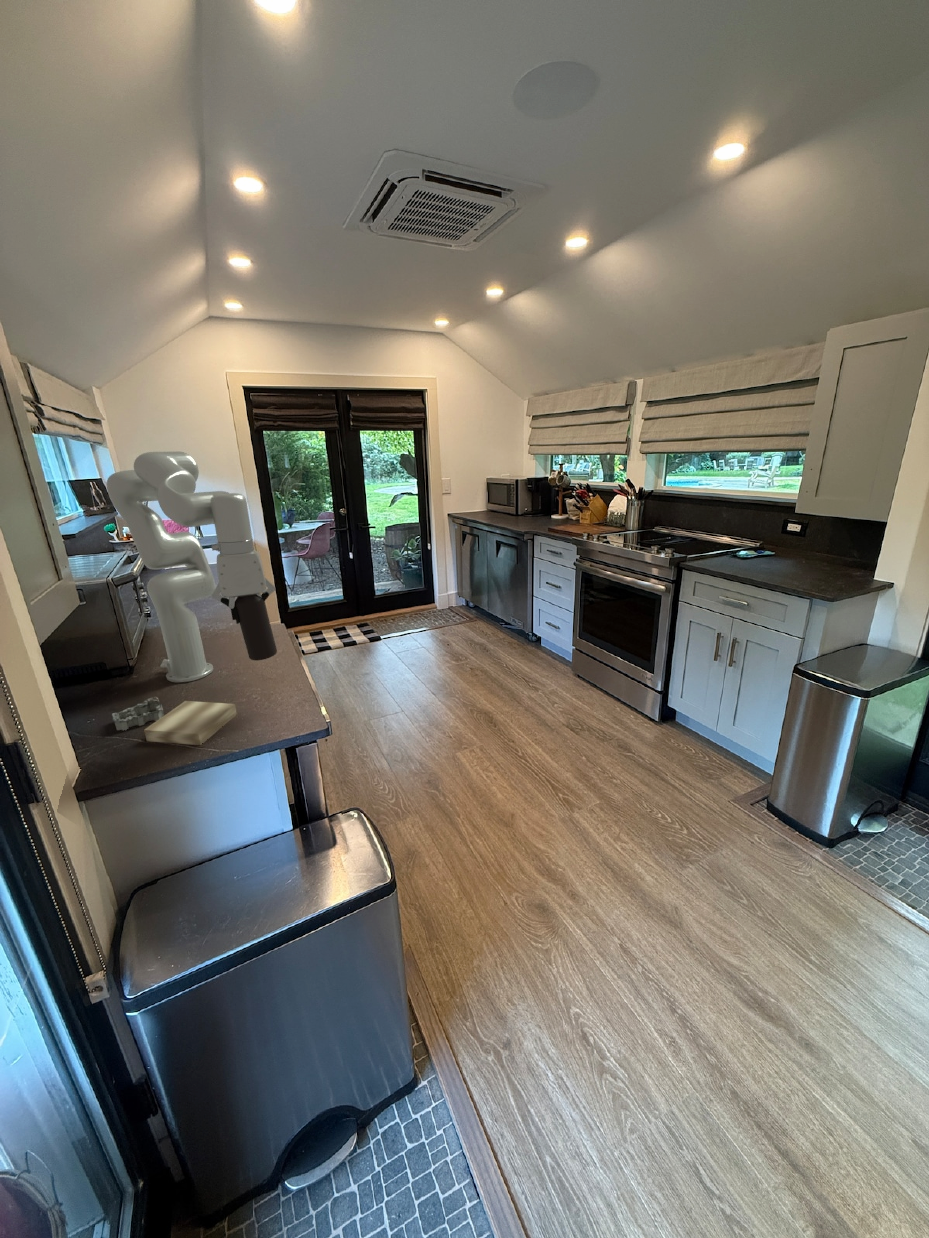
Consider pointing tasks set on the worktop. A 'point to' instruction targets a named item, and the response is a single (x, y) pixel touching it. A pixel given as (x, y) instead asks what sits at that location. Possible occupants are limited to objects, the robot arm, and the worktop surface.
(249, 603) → the vinegar
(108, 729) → the worktop surface
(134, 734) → the worktop surface
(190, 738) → the maple base
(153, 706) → the egg carton
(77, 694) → the worktop surface
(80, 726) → the worktop surface
